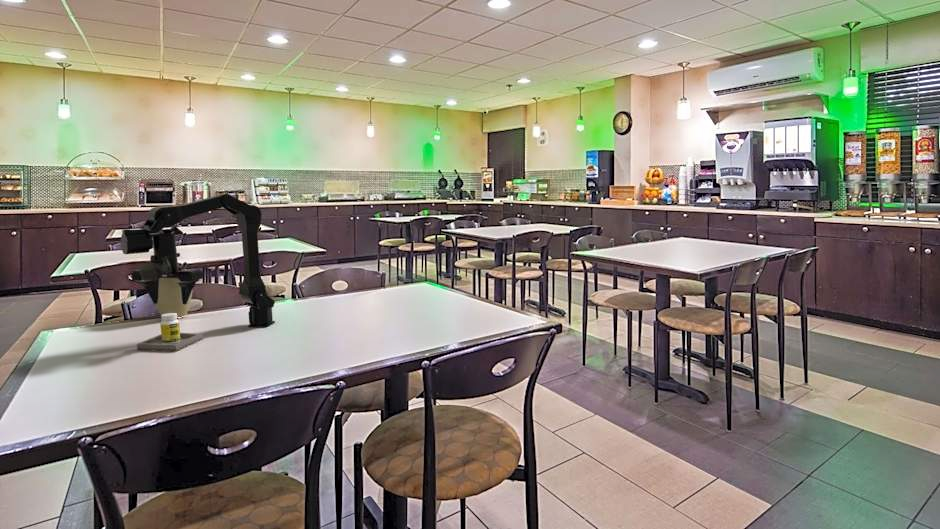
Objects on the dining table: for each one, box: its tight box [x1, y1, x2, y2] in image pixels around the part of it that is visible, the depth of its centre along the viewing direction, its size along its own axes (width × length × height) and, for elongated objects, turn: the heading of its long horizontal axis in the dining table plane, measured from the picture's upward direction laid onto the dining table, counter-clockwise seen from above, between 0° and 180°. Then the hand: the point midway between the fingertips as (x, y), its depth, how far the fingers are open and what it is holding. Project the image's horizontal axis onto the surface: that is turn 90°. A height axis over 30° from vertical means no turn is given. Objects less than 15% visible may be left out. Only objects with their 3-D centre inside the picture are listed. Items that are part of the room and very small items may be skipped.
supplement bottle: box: [160, 313, 181, 344], centre depth 155 cm, size 5×5×8 cm
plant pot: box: [154, 269, 194, 317], centre depth 187 cm, size 15×15×16 cm
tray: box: [136, 332, 204, 352], centre depth 156 cm, size 12×12×2 cm
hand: (170, 303), depth 155 cm, fingers open, 9 cm apart
